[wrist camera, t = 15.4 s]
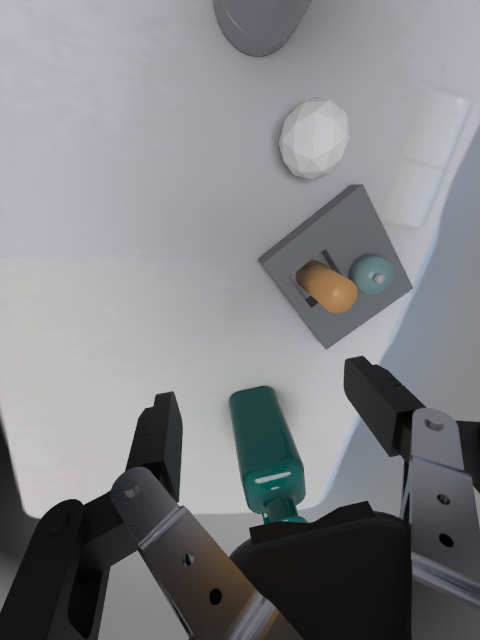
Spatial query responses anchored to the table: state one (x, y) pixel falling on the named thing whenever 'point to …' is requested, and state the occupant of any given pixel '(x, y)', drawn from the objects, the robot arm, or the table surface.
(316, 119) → the ball
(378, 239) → the block
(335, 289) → the orange capsule
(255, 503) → the pitcher
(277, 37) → the robot arm
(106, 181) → the table surface
